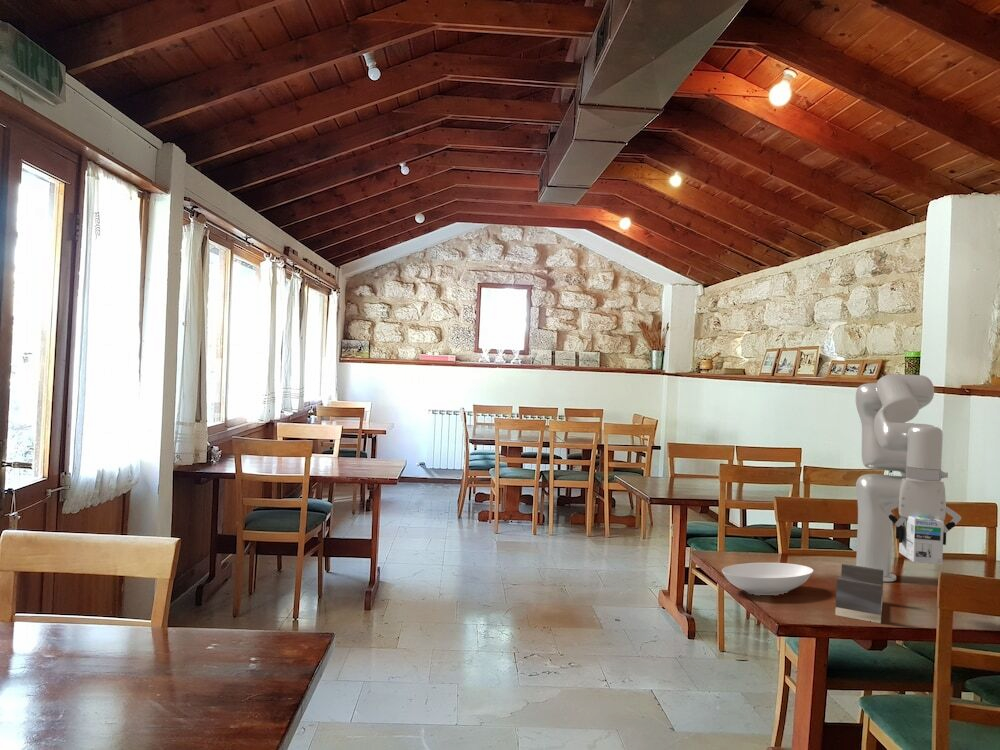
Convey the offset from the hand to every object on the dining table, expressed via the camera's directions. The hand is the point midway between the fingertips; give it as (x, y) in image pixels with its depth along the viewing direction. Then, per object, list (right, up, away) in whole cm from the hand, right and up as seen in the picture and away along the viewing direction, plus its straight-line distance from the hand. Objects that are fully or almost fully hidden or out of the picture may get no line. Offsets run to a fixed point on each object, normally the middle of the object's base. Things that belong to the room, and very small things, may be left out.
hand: (920, 544), depth 176 cm
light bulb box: (0, -4, 0) cm, 4 cm away
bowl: (-32, -18, +18) cm, 40 cm away
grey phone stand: (-12, -18, +6) cm, 23 cm away
